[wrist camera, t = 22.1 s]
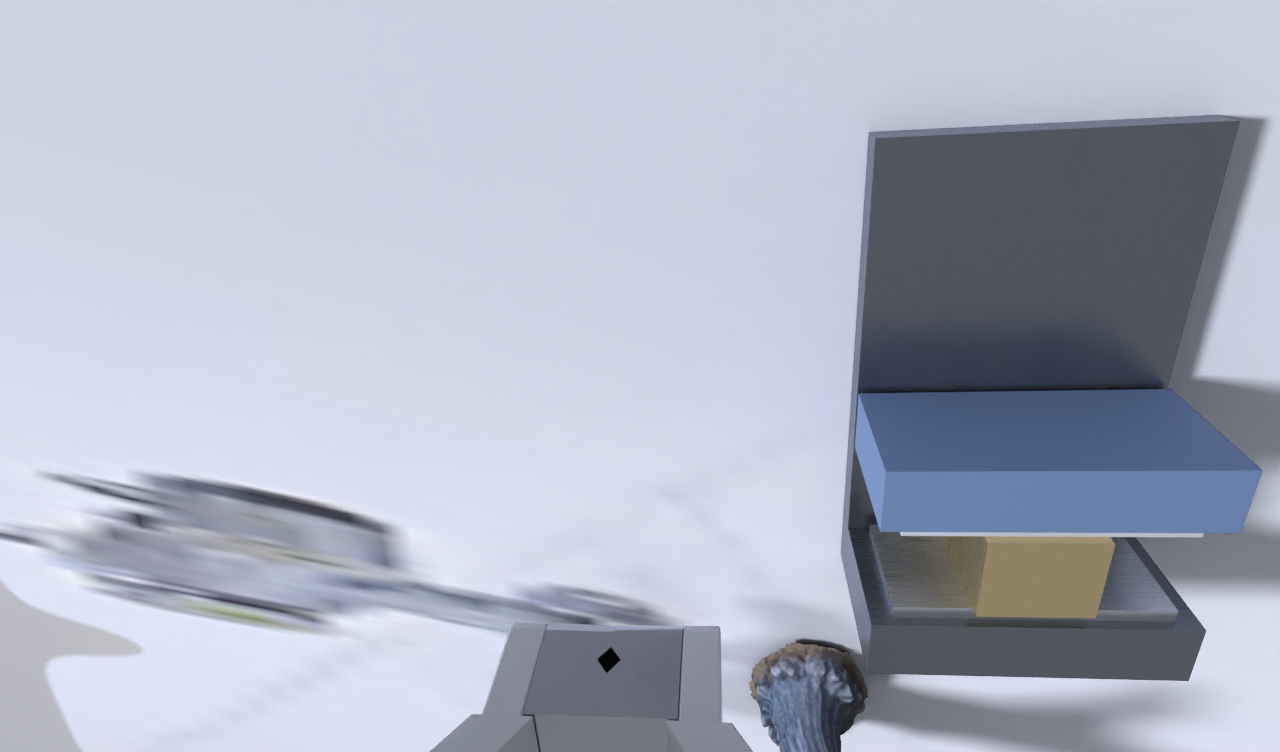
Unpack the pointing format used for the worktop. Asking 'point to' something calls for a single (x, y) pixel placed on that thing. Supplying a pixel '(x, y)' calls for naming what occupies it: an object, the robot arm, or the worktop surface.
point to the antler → (808, 696)
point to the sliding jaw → (1049, 465)
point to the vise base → (1024, 355)
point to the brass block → (1032, 574)
